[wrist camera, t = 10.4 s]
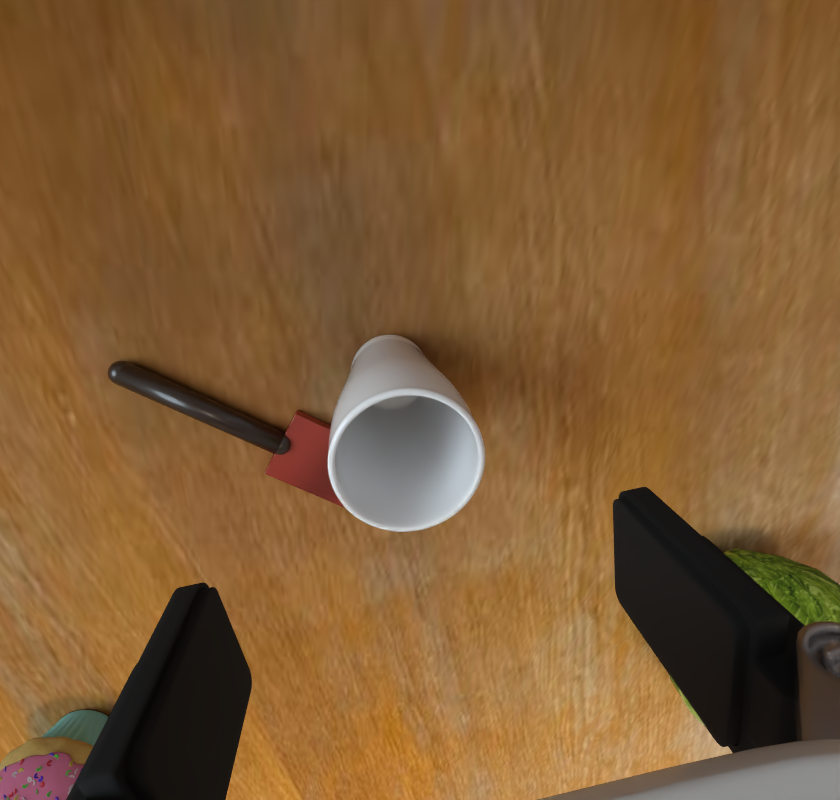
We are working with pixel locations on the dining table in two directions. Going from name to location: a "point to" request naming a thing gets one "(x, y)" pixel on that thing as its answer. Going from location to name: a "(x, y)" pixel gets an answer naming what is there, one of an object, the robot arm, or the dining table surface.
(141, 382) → the spatula
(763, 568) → the lettuce
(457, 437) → the drinking glass
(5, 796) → the cupcake
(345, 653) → the dining table surface
